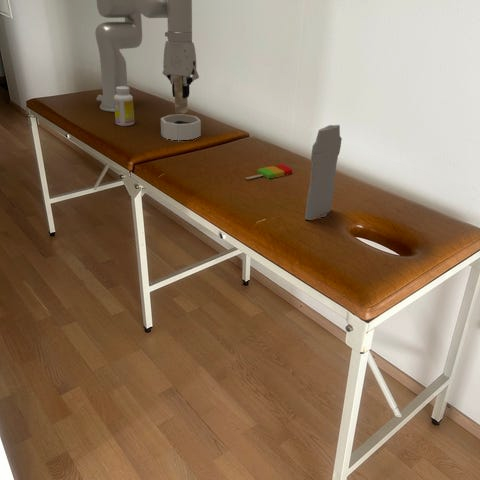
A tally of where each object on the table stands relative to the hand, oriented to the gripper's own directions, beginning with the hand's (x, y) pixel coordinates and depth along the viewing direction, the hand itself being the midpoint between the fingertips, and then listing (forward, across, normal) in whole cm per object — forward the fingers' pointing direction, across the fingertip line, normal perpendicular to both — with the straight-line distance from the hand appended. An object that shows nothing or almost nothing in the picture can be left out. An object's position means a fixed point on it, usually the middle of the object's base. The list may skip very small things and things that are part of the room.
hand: (180, 96), depth 170 cm
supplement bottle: (+13, -24, +1) cm, 28 cm away
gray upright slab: (+14, +61, -37) cm, 72 cm away
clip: (+13, 0, 0) cm, 13 cm away
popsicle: (+14, +40, -19) cm, 46 cm away
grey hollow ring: (+13, 0, 0) cm, 13 cm away
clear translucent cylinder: (+5, 0, 0) cm, 5 cm away
